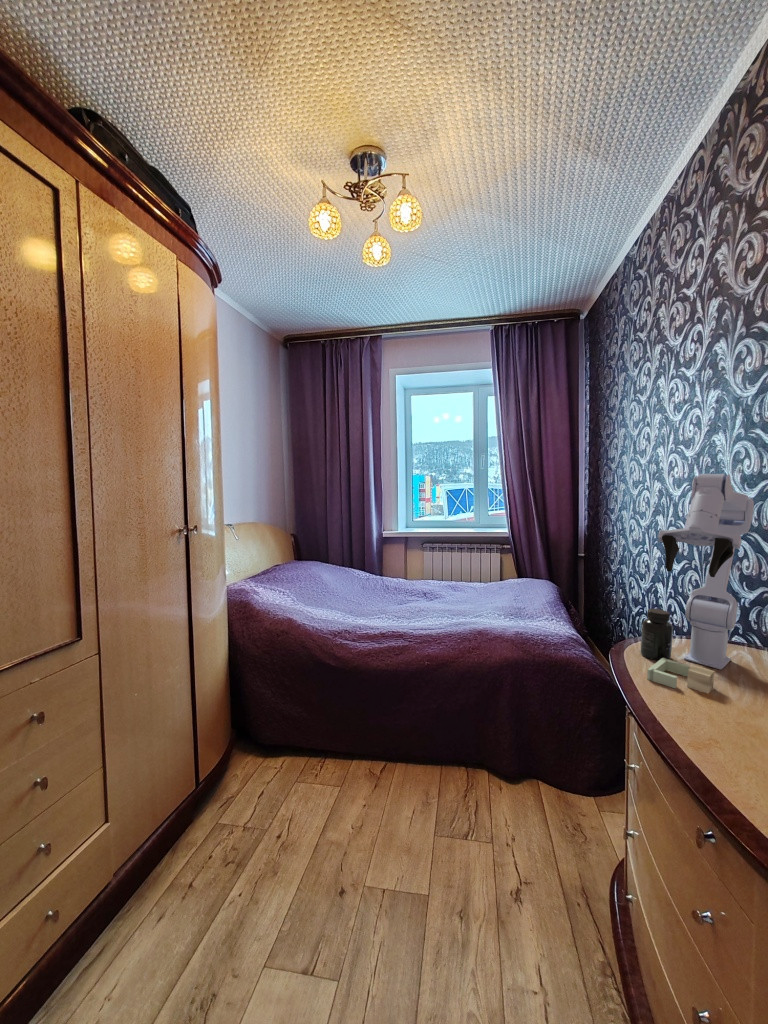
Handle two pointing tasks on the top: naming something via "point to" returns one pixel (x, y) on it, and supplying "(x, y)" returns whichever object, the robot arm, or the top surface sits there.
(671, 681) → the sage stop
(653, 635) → the supplement bottle
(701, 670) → the birch block
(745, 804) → the top surface
